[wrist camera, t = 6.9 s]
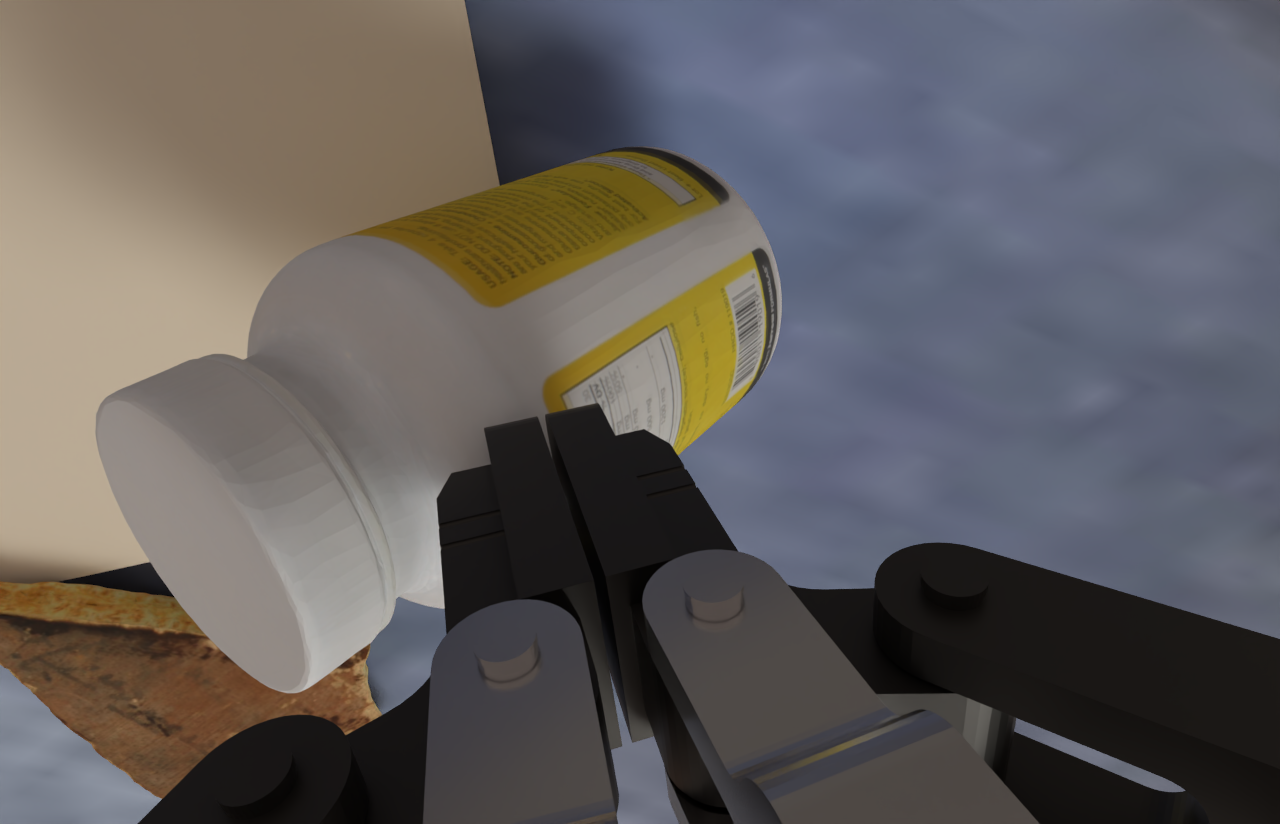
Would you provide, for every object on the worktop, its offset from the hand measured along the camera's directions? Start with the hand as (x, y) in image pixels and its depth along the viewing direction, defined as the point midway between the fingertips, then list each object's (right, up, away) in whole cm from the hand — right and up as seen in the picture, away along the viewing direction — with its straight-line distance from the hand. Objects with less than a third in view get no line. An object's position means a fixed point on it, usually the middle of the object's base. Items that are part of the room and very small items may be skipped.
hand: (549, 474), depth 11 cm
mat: (-10, +3, +8) cm, 13 cm away
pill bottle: (+2, +4, +8) cm, 9 cm away
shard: (-12, -7, +13) cm, 19 cm away
